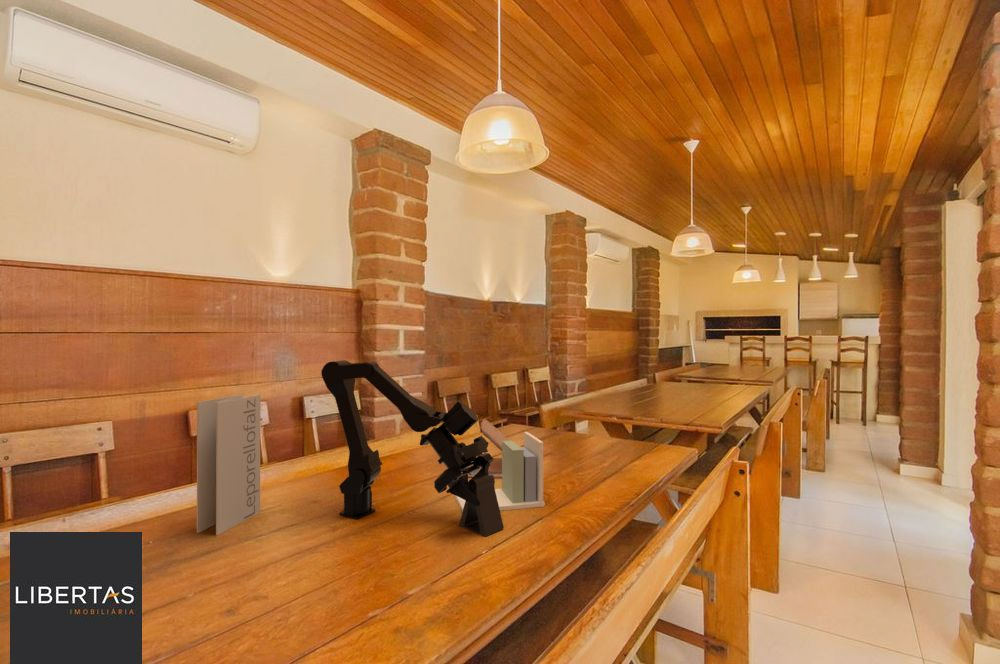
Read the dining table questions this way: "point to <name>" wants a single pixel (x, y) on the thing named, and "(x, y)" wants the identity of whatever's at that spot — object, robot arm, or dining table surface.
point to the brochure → (228, 461)
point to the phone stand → (482, 508)
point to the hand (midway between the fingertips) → (486, 500)
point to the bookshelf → (520, 475)
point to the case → (497, 439)
